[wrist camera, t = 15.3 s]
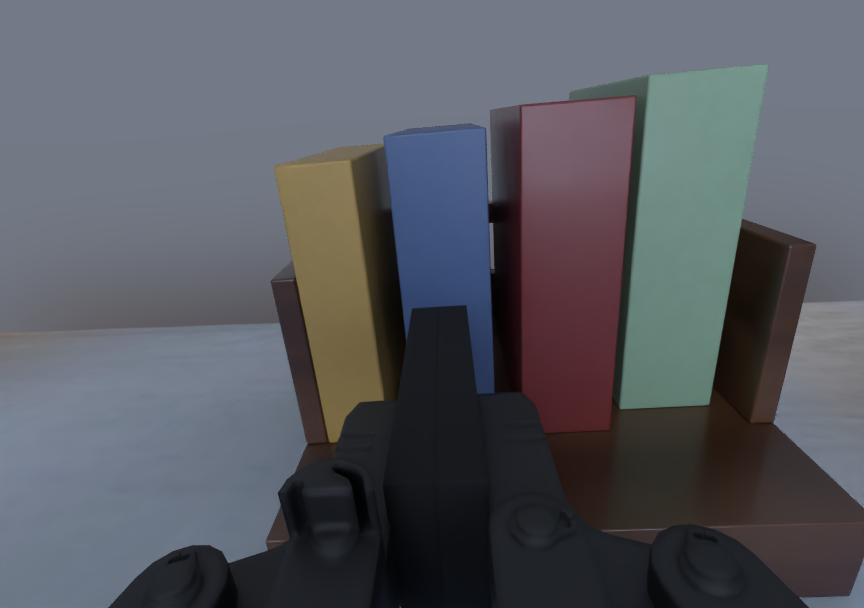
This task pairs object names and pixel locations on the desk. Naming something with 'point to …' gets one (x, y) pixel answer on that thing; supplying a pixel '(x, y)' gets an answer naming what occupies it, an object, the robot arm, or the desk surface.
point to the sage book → (681, 227)
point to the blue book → (444, 228)
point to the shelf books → (513, 259)
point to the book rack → (683, 436)
